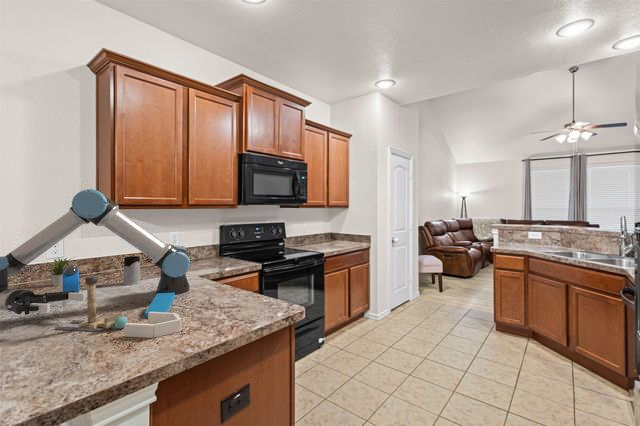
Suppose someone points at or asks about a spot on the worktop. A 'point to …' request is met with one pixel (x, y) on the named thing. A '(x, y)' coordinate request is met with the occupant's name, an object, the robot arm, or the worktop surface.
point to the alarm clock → (71, 279)
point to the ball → (120, 322)
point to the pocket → (155, 325)
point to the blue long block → (161, 303)
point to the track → (79, 327)
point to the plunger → (92, 308)
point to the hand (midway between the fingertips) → (67, 302)
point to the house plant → (58, 271)
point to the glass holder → (131, 270)
